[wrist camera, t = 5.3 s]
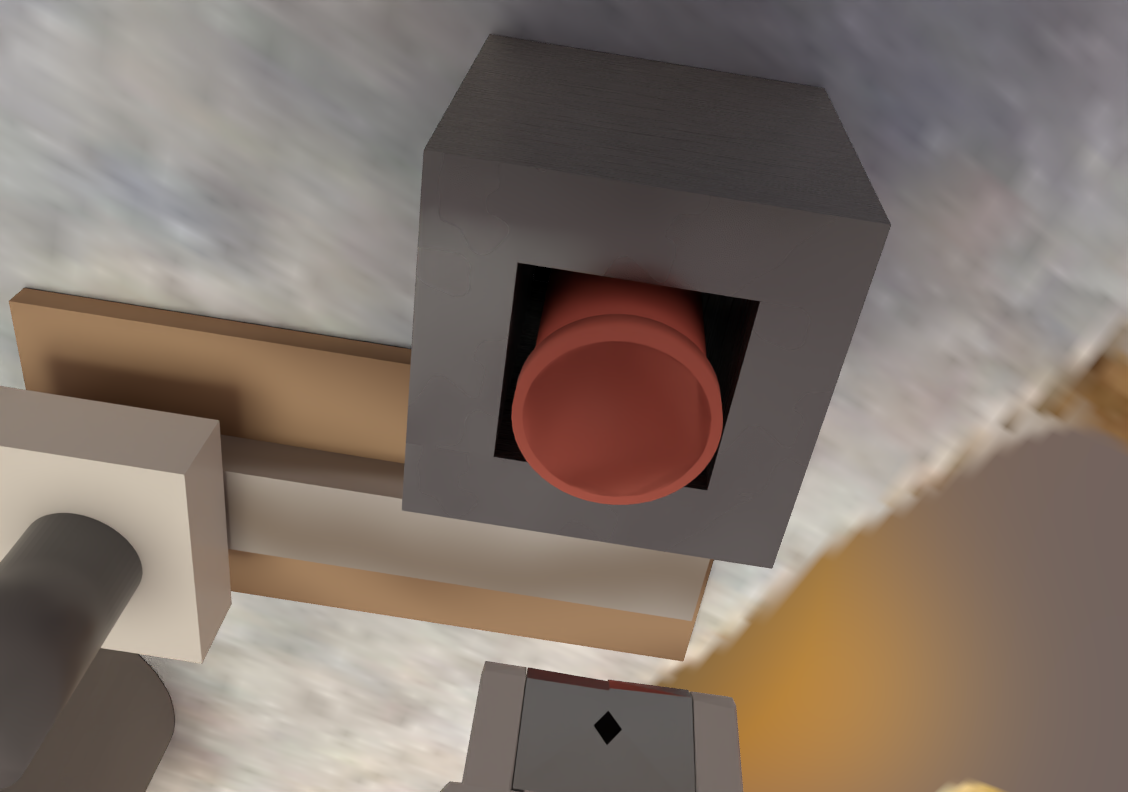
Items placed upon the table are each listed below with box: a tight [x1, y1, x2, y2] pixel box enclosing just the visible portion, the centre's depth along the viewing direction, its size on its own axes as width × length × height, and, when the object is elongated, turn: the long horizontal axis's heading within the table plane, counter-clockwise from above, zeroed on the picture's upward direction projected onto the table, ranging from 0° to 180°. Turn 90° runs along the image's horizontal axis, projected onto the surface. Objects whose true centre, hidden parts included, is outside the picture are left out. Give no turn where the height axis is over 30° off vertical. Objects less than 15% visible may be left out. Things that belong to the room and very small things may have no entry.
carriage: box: [0, 386, 232, 789], centre depth 25 cm, size 7×6×8 cm
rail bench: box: [9, 288, 714, 661], centre depth 30 cm, size 10×21×2 cm, turn 82°
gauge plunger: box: [511, 268, 723, 505], centre depth 20 cm, size 4×4×5 cm
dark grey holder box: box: [402, 34, 891, 568], centre depth 22 cm, size 8×8×8 cm
